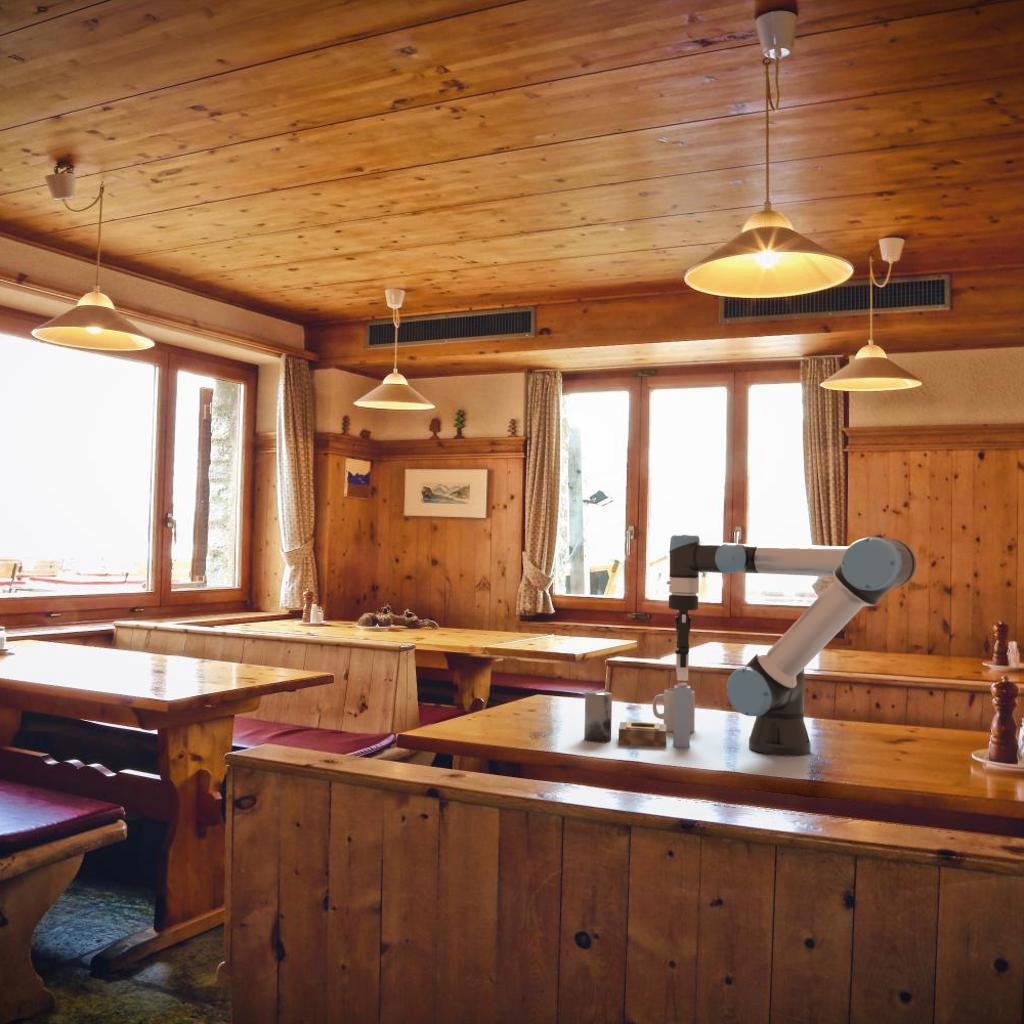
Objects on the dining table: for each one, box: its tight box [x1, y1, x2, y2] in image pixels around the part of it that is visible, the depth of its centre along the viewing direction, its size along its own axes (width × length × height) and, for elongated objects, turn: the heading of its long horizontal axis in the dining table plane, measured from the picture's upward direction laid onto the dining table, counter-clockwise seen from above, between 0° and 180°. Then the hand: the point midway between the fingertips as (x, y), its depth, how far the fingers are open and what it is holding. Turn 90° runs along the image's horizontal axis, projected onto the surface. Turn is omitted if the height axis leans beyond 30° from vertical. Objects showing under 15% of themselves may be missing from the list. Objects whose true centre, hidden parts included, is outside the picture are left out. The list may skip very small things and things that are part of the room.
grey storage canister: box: [583, 690, 613, 743], centre depth 250 cm, size 7×7×12 cm
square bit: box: [672, 682, 692, 748], centre depth 245 cm, size 4×4×16 cm
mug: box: [652, 688, 696, 734], centre depth 267 cm, size 12×8×11 cm
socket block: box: [618, 720, 667, 748], centre depth 248 cm, size 12×10×4 cm
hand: (681, 677), depth 246 cm, fingers open, 13 cm apart
